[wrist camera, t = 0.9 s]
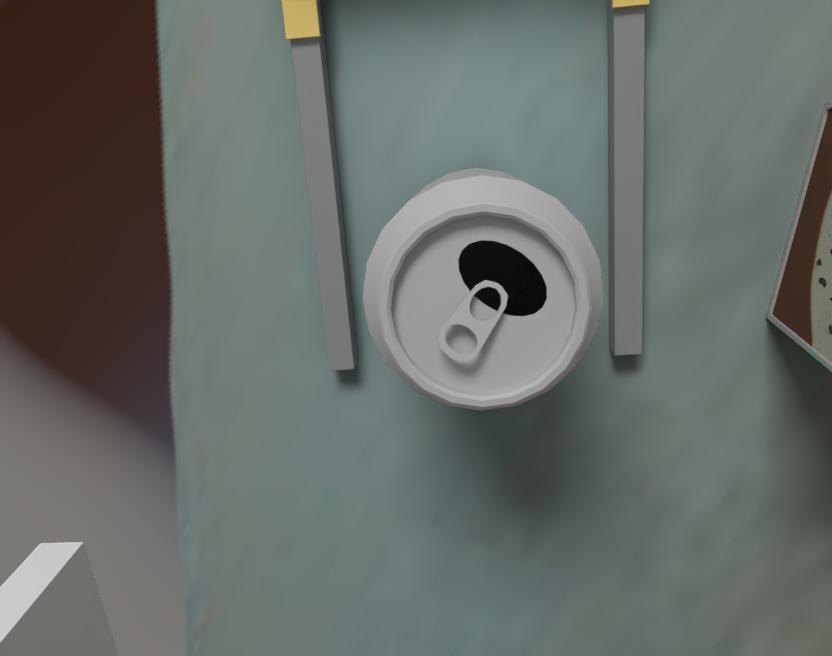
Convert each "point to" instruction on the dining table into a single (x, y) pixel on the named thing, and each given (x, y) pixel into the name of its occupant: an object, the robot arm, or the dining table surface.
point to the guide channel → (622, 175)
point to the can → (482, 291)
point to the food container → (809, 256)
